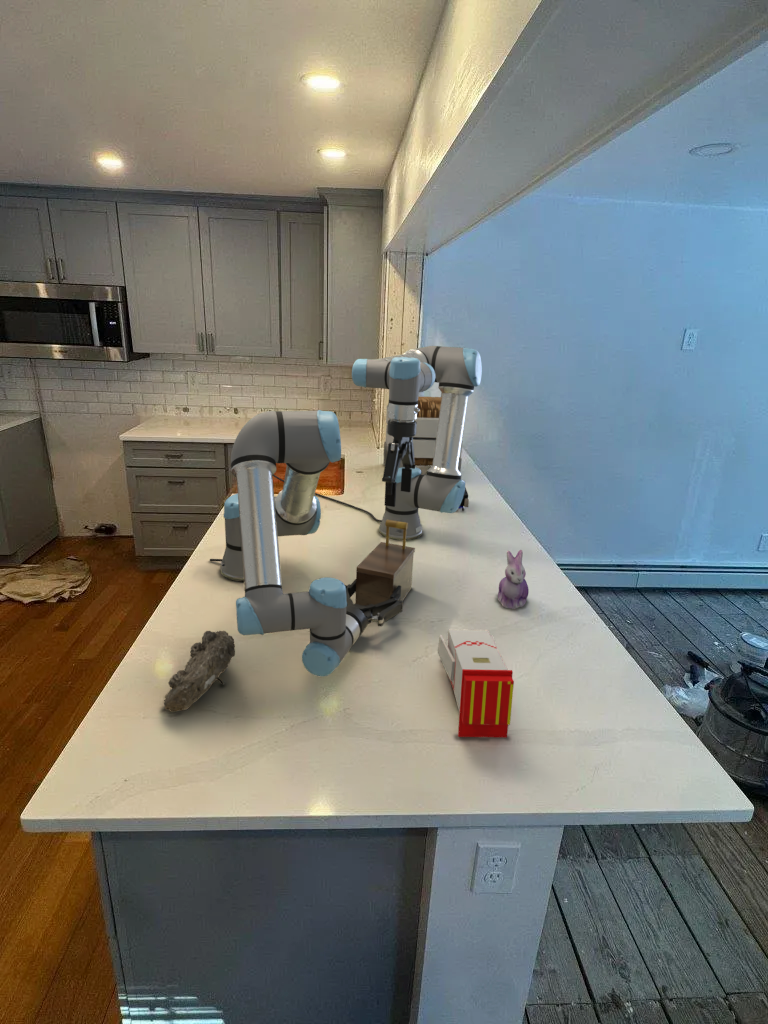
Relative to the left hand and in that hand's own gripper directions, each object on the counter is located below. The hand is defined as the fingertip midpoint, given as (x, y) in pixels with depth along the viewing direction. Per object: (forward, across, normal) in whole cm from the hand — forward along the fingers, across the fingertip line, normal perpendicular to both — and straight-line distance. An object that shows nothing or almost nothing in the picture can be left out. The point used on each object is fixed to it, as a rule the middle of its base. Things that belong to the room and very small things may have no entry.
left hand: (378, 586), depth 148 cm
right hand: (+13, 0, +20) cm, 24 cm away
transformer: (+131, -26, -6) cm, 133 cm away
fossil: (-44, -22, -6) cm, 50 cm away
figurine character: (+90, +2, -6) cm, 90 cm away
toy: (-26, +30, -6) cm, 40 cm away
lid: (+5, 0, +5) cm, 7 cm away
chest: (+5, 0, -6) cm, 8 cm away
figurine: (+18, +33, -6) cm, 38 cm away
